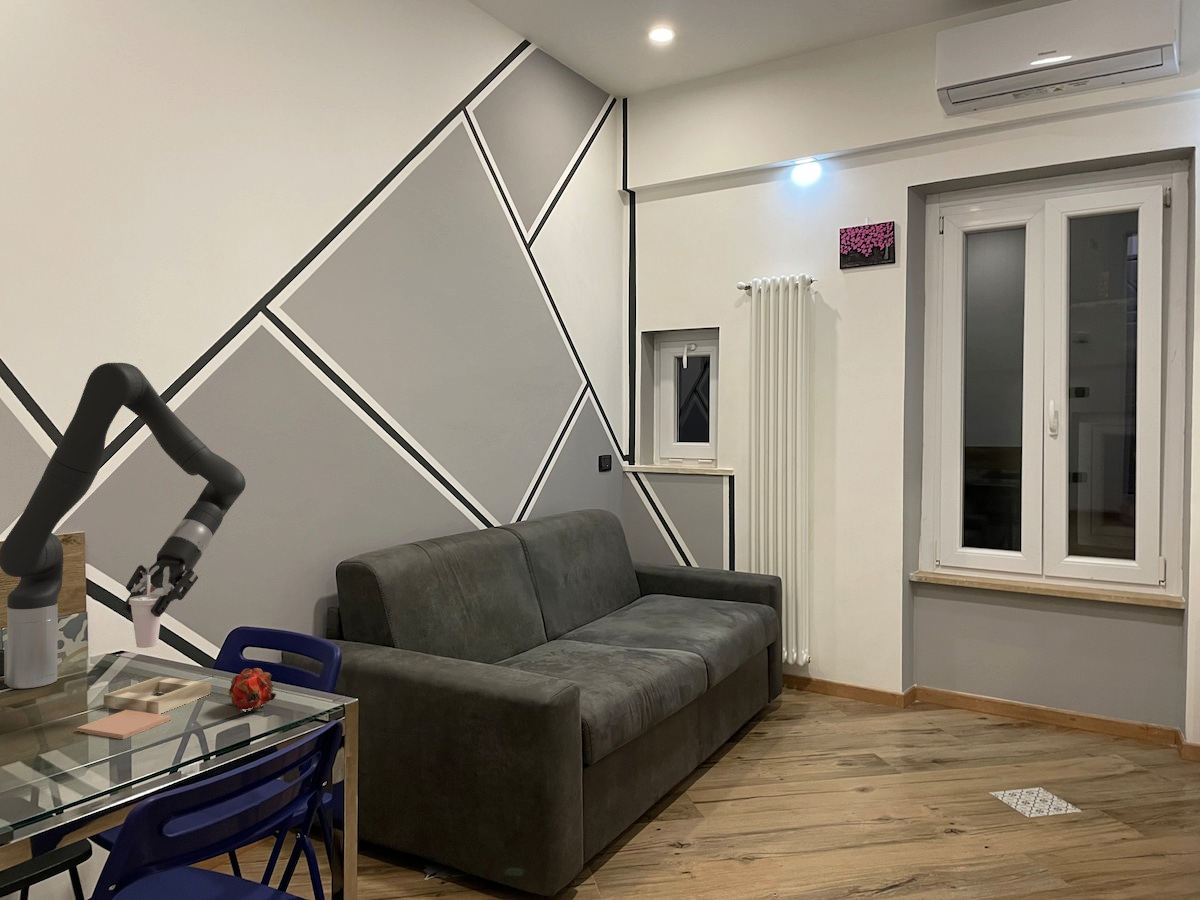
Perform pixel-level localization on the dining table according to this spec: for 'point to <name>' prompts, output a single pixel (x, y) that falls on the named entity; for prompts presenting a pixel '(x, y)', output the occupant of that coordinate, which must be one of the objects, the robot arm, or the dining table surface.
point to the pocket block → (142, 700)
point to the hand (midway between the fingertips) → (140, 612)
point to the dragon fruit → (251, 689)
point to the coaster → (124, 724)
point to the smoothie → (145, 618)
